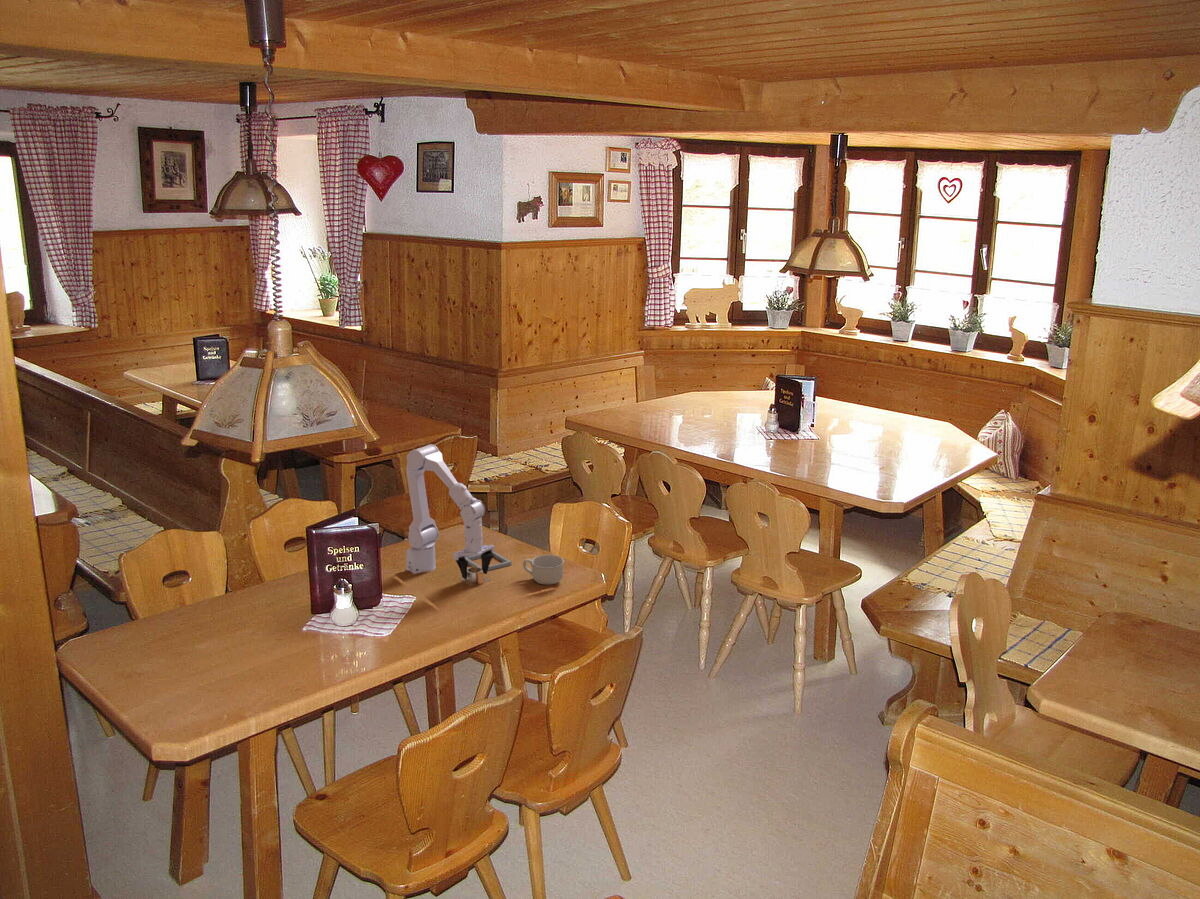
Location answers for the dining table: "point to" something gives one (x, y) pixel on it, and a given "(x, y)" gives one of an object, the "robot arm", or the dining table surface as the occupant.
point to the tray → (491, 567)
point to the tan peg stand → (473, 569)
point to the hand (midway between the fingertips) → (474, 575)
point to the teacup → (545, 569)
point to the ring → (475, 576)
